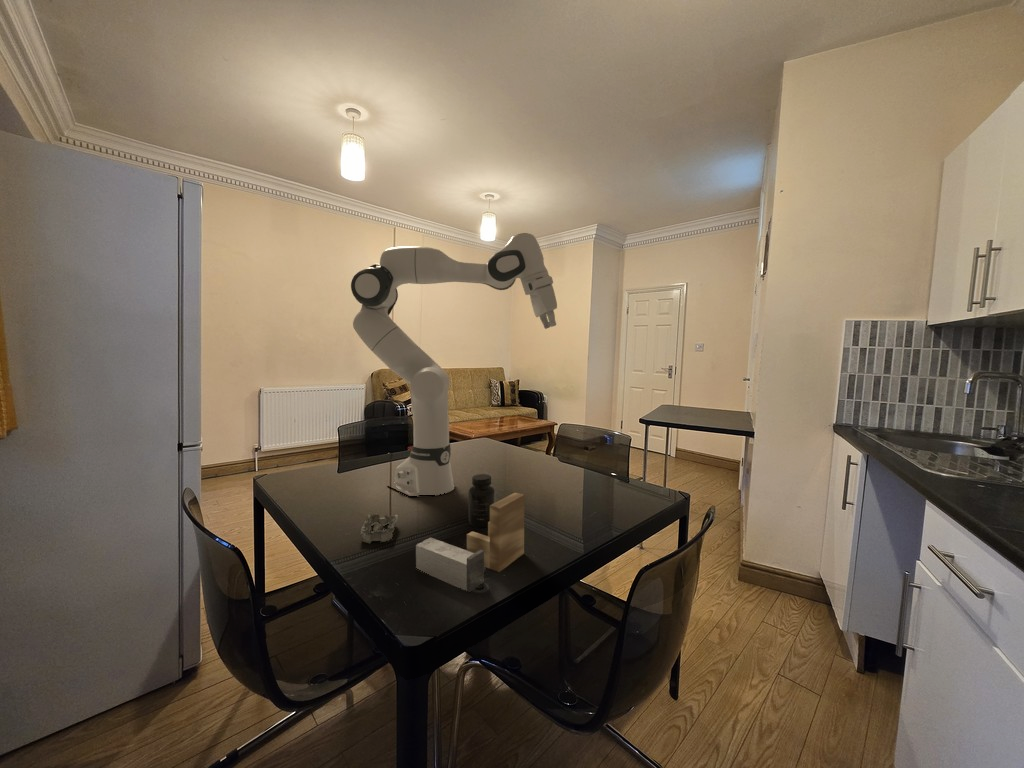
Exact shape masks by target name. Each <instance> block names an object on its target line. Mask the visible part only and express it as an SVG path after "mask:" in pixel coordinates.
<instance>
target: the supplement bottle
mask: <svg viewBox="0 0 1024 768" xmlns="http://www.w3.org/2000/svg"><path fill="white" fill-rule="evenodd" d="M471 478H472V479H471V481H472V482H471V484H472V486H471V487H469V489H468V523H469V524H470V525H471V526H472V527H474V528H488V522H489V521H490V505H492V504H494V503H496V489H495V487H494V486H493V485H492V475H490V474H487V473H486V474H485V473H479V474H478V473H477V474H475V475H473V476H472V477H471Z"/></svg>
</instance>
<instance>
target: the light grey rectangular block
mask: <svg viewBox="0 0 1024 768" xmlns="http://www.w3.org/2000/svg"><path fill="white" fill-rule="evenodd" d="M415 565H416V566H415V569H416V568H417V569H419V570H421V571H420V572H422V571H423V572H422V573H424V572H425V573H424V574H426V573H427V575H428V574H429V575H428V576H431V577H434V578H436V579H437V580H441V581H442V582H445V583H447V584H449V585H451V586H453V587H456V588H458V589H460V588H461V590H462V591H465V590H466V591H465V592H467V591H469V592H471V591H472V590H473V589H474V590H476V589H477V588H478V587H480V586H481V585H483V584H484V583H485V582H484V581H485V573H484V572H485V567H484V550H481V549H480V550H479V551H477V552H476V553H472V552H469V551H467V549H463V548H461V547H458V546H455V545H453V544H449V543H447V542H446V541H441V540H439V539H436V538H433V537H428V538H426V539H424V540H422V541H421V542H418V543H417V544H416V545H415ZM417 569H416V570H417ZM419 570H418V571H419ZM483 582H484V583H483ZM480 584H481V585H480ZM479 585H480V586H479ZM476 587H477V588H476ZM475 588H476V589H475ZM474 590H473V591H474ZM473 591H472V592H473ZM469 592H468V593H469ZM472 592H471V593H472Z"/></svg>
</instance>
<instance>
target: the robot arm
mask: <svg viewBox="0 0 1024 768" xmlns="http://www.w3.org/2000/svg"><path fill="white" fill-rule="evenodd" d="M517 279H520V282H521V285H522V289H523V291H524V295H525V296H530V297H529V298H530V302H531V306H532V310H533V313H534V316H535V317H536V318H539V319H540V321H541V323H542V325H543V326H542V327H543V329H545V330H547V329H550V328H553V327H556V326H557V322H556V315H555V311H554V310H557V309H558V302H557V298H556V294H555V289H554V286H553V284H554V281H553V276H552V275H549V271H548V269H547V267H546V265H545V261H544V255H543V252H542V249H541V247H540V244H539V242H538V240H537V238H536V236H535V235H534V234H531V233H527V232H523V233H522V232H521V233H518V234H516V235H513V236H511V237H510V239H509V241H508V242H507V243H506V244H505V245H504V246H503V247H502V248H501V249H499V250H497V251H496V252H495V253H493V254H492V255H491V256H490V258H489V260H488V262H487V263H474V262H463V261H457V260H455V259H453V258H452V257H450V256H449V255H447V254H446V253H444V252H443V251H442V250H440V249H437V248H433V247H428V246H419V245H418V246H417V245H416V246H415V245H414V246H413V245H411V246H410V245H409V246H405V245H404V246H394V247H389V248H387V249H385V250H384V251H383V252H382V253H381V254H380V257H379V263H374V264H372V265H370V266H368V267H367V268H363V269H362V270H360V271H358V272H356V274H355V275H354V276H353V277H352V279H351V283H350V290H351V293H352V295H353V297H354V298H355V300H356V301H357V302H358V303H360V304H361V308H360V310H359V312H358V313H357V314H356V315H355V316H354V318H353V321H352V326H353V329H354V331H355V333H356V334H357V335H358V336H359V338H360V339H361V340H362V342H363V343H364V345H365V346H366V347H367V348H368V349H369V350H370V351H371V352H372V353H373V354H374V355H375V356H376V357H377V358H378V359H379V360H380V361H381V362H382V363H383V364H384V365H386V366H387V368H388V369H389V370H390V371H392V372H393V373H395V374H396V375H397V376H399V377H400V378H401V379H402V380H404V382H406V383H407V384H409V387H410V389H409V391H410V404H411V413H412V419H413V420H412V421H413V425H412V426H413V429H412V430H413V445H411V446H408V447H407V451H408V452H409V451H410V454H409V456H408V457H407V458H406V459H405V460H404V461H402V462H401V463H400V464H398V465H397V467H396V468H395V472H394V479H395V482H394V483H396V487H397V488H398V489H400V490H401V491H403V492H405V493H407V494H409V495H435V496H439V495H440V494H441V495H445V494H447V493H450V492H452V491H453V490H454V489H455V488H454V487H455V484H454V478H453V473H452V465H451V455H452V452H451V451H452V447H451V443H450V417H449V393H448V392H449V388H450V385H451V384H450V383H451V381H450V380H451V379H450V376H449V374H448V373H447V372H446V371H445V370H444V369H443V368H442V367H441V366H440V365H439V364H438V362H436V361H435V360H434V359H433V358H432V357H430V355H428V353H426V352H425V351H424V350H423V349H422V348H421V347H420V346H419V345H417V344H416V343H415V341H413V340H412V338H411V337H410V336H408V334H407V333H405V331H404V330H403V329H401V328H400V327H399V326H398V325H397V323H396V322H394V321H393V319H392V318H391V317H390V315H391V312H392V310H393V308H394V307H395V305H396V304H397V301H398V297H399V292H398V289H397V288H398V287H400V286H402V285H405V284H406V285H407V284H412V285H432V284H442V283H454V282H455V283H467V284H468V283H469V284H470V283H471V284H482V285H486V286H488V287H490V288H492V289H494V290H497V291H505V290H508V289H511V288H512V287H513V285H514V284H515V283H516V280H517ZM409 492H411V493H409ZM444 493H445V494H444ZM441 495H440V496H441Z"/></svg>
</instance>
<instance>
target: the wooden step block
mask: <svg viewBox="0 0 1024 768" xmlns="http://www.w3.org/2000/svg"><path fill="white" fill-rule="evenodd" d="M480 549H481V550H484V568H487V569H490V570H493V571H494V572H498V573H501V572H502V571H504V570H505V569H506V568H507V567H508V566H510V565H511V564H512V563H514V562H515V561H516V560H517V559H518V558H520V557H522V556H523V555H524V554H525V494H523V493H518V492H514V493H512V494H509V495H507V496H505V497H503V498H502V499H500V500H498V501H495V503H494V504H492V505H490V521H489V522H488V527H487V535H485V534H483V533H479V532H475V531H473V530H472V531H470V532H469V533H466V550H467V551H469V552H472V553H476V552H477V551H479V550H480Z"/></svg>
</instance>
